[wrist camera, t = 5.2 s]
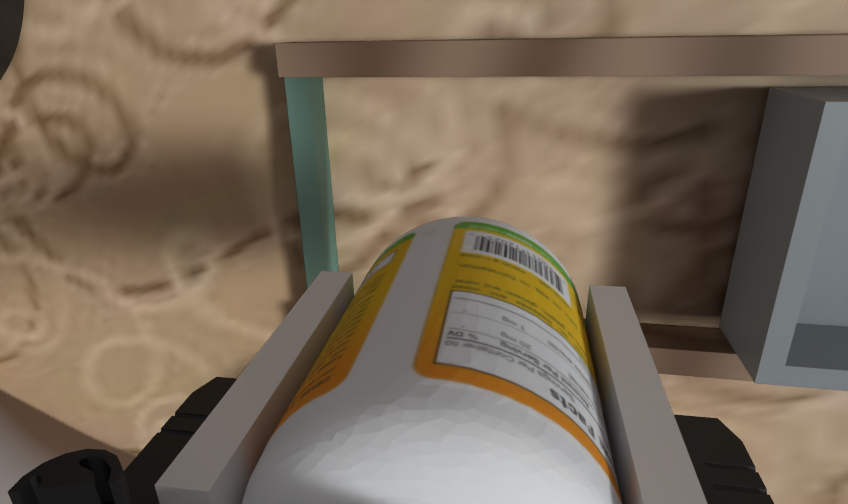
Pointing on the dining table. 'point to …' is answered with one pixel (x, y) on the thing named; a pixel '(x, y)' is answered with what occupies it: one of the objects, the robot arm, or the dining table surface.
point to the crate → (794, 245)
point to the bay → (531, 57)
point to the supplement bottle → (449, 384)
